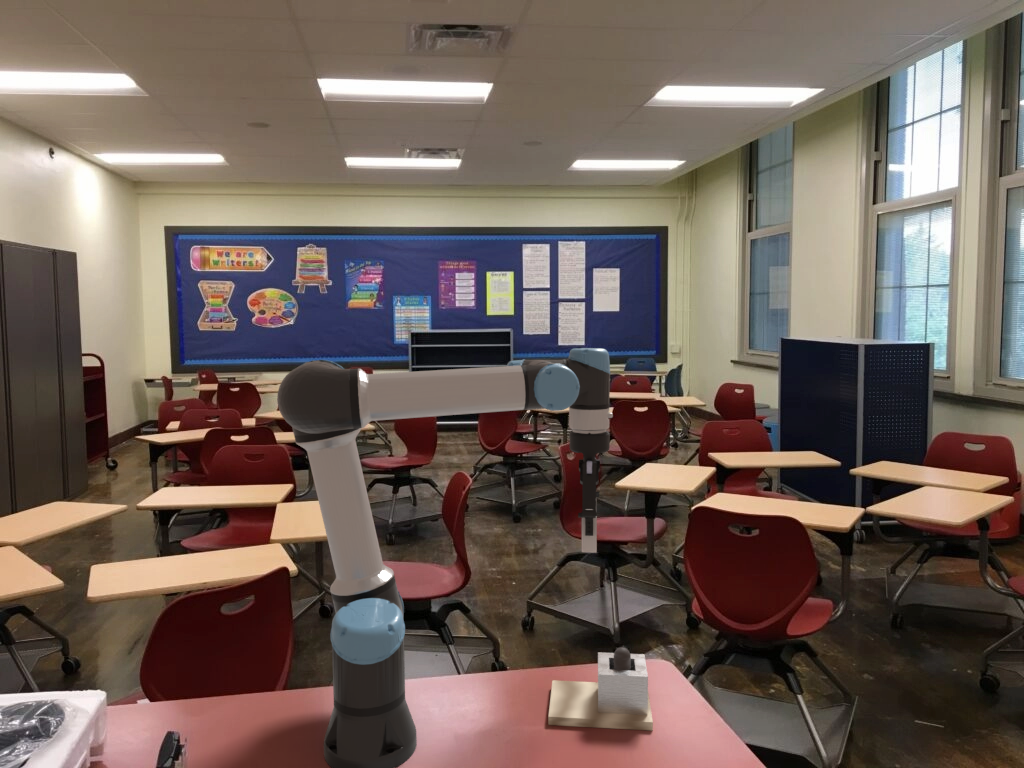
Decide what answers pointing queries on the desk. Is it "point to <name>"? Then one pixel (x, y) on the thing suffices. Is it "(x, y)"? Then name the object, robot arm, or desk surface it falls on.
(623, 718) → the board
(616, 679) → the gray cube
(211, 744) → the desk surface
